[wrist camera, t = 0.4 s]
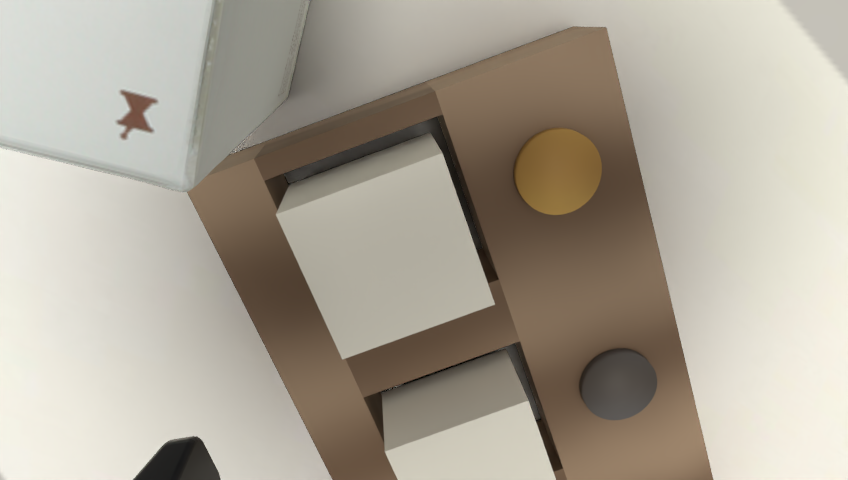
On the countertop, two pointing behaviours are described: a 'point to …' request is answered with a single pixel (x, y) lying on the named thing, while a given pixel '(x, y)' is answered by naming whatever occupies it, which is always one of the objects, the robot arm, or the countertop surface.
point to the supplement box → (143, 81)
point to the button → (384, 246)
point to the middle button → (465, 425)
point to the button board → (491, 267)
